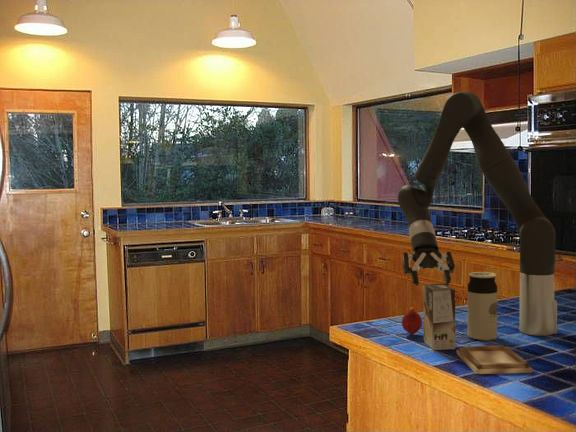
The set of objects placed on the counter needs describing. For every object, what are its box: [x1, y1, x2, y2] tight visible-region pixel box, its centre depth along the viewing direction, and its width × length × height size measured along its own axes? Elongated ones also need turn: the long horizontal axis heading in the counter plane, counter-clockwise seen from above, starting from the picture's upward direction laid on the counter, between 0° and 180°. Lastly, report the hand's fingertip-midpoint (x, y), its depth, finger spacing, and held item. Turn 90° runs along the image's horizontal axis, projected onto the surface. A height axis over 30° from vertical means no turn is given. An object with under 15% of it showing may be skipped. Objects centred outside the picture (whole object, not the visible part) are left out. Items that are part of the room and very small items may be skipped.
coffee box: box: [422, 283, 456, 351], centre depth 165 cm, size 9×6×16 cm
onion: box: [401, 306, 423, 336], centre depth 176 cm, size 6×6×8 cm
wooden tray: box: [456, 344, 533, 375], centre depth 150 cm, size 13×16×2 cm
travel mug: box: [467, 271, 498, 341], centre depth 172 cm, size 8×8×18 cm
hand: (432, 283), depth 172 cm, fingers open, 8 cm apart
